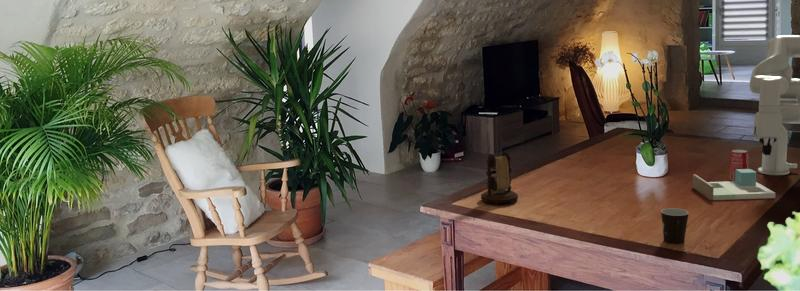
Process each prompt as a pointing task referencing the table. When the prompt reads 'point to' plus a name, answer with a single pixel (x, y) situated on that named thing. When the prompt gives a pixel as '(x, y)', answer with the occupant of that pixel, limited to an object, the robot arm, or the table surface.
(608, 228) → the table surface
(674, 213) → the coffee mug
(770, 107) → the robot arm
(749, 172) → the block
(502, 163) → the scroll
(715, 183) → the tray
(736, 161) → the soda can
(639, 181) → the table surface
